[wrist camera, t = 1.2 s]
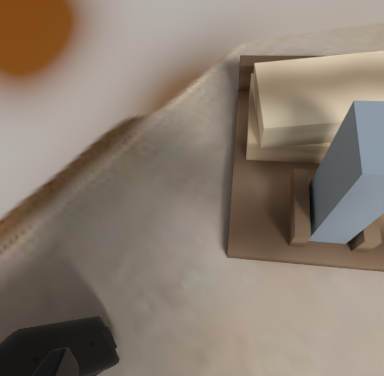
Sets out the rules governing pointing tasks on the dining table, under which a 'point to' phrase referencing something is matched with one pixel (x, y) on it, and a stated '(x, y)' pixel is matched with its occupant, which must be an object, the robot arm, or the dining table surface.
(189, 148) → the dining table surface
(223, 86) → the dining table surface
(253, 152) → the offcut stack
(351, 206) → the tall board
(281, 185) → the walnut rack
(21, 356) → the magazine
